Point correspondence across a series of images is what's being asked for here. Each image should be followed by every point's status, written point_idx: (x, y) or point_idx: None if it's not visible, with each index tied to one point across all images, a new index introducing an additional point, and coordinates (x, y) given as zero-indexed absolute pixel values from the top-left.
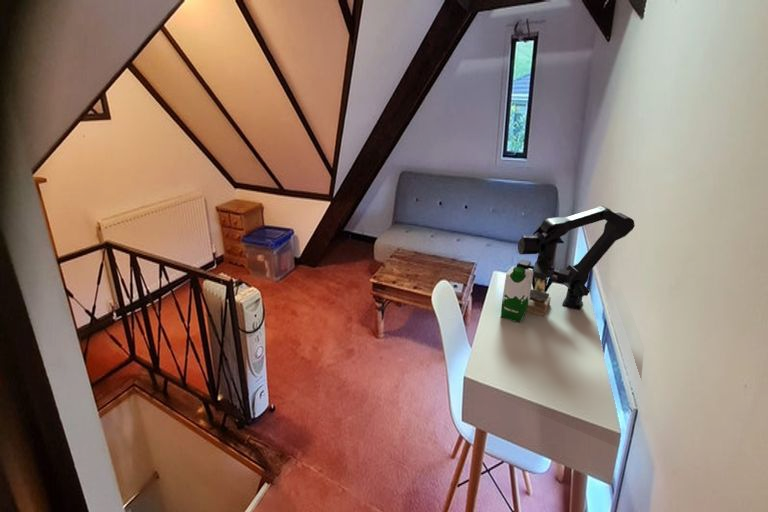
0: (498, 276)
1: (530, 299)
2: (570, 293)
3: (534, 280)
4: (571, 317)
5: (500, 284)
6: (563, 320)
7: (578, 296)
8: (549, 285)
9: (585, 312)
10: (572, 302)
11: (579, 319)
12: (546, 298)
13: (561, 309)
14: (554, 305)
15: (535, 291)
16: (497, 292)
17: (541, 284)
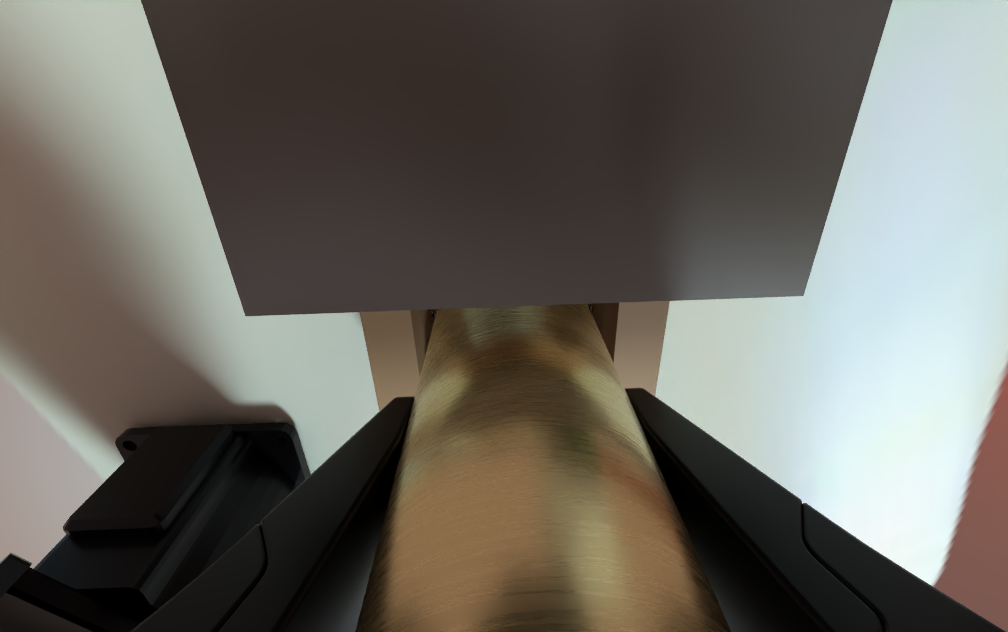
0: (939, 562)
1: (603, 308)
2: (130, 575)
3: (778, 579)
4: (88, 244)
5: (931, 460)
6: (101, 106)
7: (36, 566)
8: (236, 557)
9: (68, 419)
10: (152, 467)
11: (3, 254)
12: None
13: (261, 346)
14: (352, 380)
15: (580, 236)
16: (985, 296)
17: (484, 494)
